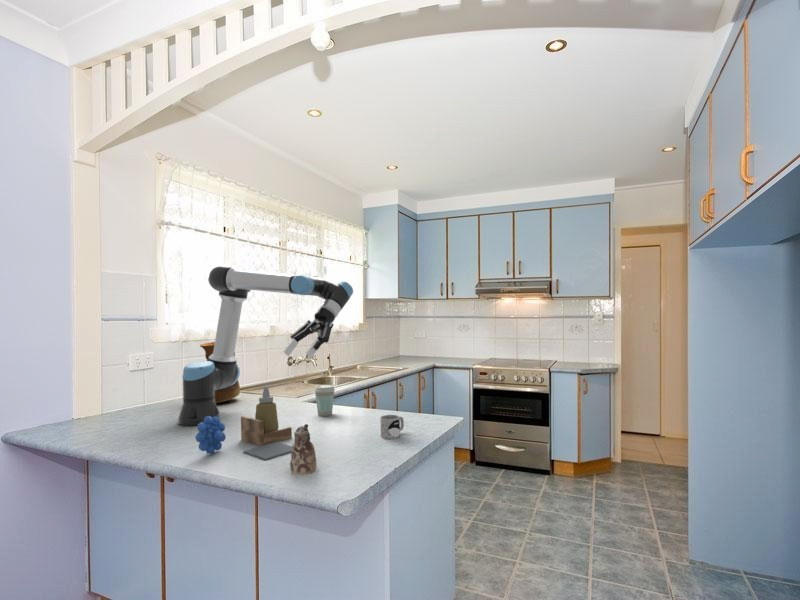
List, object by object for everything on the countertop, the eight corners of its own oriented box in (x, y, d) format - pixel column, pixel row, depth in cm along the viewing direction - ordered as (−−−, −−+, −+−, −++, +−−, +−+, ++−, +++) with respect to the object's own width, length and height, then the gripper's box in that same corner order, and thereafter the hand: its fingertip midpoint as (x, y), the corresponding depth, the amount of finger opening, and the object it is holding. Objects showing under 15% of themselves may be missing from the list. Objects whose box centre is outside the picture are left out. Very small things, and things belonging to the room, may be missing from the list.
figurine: (284, 472, 118) (284, 428, 119) (299, 464, 125) (299, 421, 125) (307, 475, 116) (306, 430, 116) (321, 466, 123) (320, 423, 123)
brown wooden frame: (241, 439, 150) (241, 416, 150) (271, 431, 159) (271, 409, 159) (261, 446, 142) (260, 421, 142) (291, 437, 151) (291, 414, 152)
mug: (390, 440, 146) (390, 420, 146) (376, 436, 151) (376, 417, 151) (410, 433, 154) (409, 414, 154) (396, 430, 158) (396, 412, 158)
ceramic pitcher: (188, 403, 213) (187, 341, 214) (227, 396, 228) (226, 339, 229) (207, 408, 200) (207, 343, 201) (247, 400, 216) (246, 340, 216)
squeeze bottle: (271, 442, 146) (271, 388, 146) (249, 441, 147) (249, 388, 148) (282, 435, 154) (282, 384, 154) (261, 434, 155) (261, 384, 156)
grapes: (208, 461, 128) (207, 420, 129) (190, 459, 131) (189, 419, 131) (235, 449, 139) (235, 411, 140) (218, 447, 142) (218, 410, 142)
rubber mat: (243, 452, 136) (243, 451, 136) (276, 443, 145) (276, 441, 145) (265, 460, 128) (265, 458, 128) (298, 449, 138) (298, 448, 138)
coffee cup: (318, 412, 189) (318, 384, 189) (337, 412, 188) (337, 384, 188) (311, 417, 180) (311, 387, 181) (331, 417, 179) (331, 388, 179)
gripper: (354, 319, 167) (324, 363, 155) (312, 319, 183) (283, 359, 171) (343, 305, 163) (312, 349, 151) (302, 307, 179) (271, 346, 167)
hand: (296, 354), depth 161 cm, fingers open, 13 cm apart
